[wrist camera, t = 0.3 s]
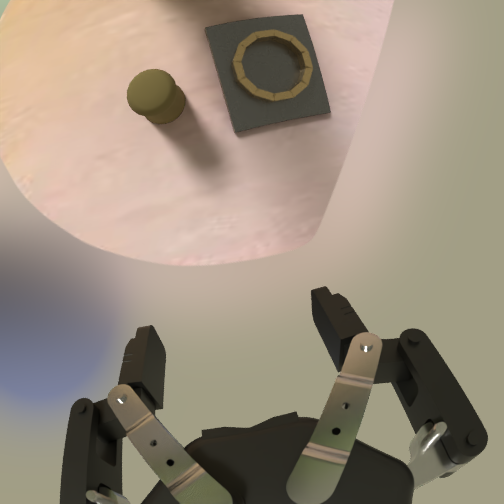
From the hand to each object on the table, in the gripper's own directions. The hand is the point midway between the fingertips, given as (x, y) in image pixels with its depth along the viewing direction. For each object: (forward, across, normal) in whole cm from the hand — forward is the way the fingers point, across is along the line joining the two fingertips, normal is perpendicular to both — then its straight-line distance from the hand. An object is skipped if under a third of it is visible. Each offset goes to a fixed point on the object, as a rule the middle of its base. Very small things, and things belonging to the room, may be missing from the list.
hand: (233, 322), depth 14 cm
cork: (+29, +4, -12) cm, 32 cm away
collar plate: (+29, -10, -14) cm, 34 cm away
